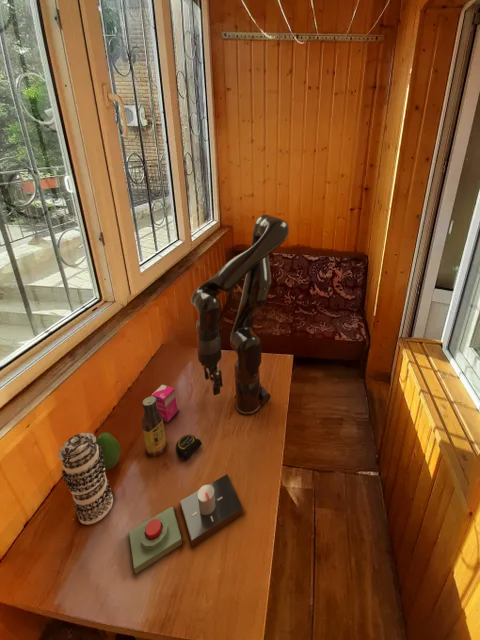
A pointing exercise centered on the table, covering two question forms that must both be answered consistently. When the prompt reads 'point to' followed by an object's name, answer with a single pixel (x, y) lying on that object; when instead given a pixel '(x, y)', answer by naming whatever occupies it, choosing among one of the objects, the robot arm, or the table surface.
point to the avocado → (109, 449)
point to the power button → (153, 529)
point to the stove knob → (206, 499)
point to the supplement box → (166, 402)
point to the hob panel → (222, 514)
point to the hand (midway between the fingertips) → (212, 385)
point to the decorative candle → (86, 477)
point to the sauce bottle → (153, 427)
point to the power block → (154, 540)
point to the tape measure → (187, 446)
